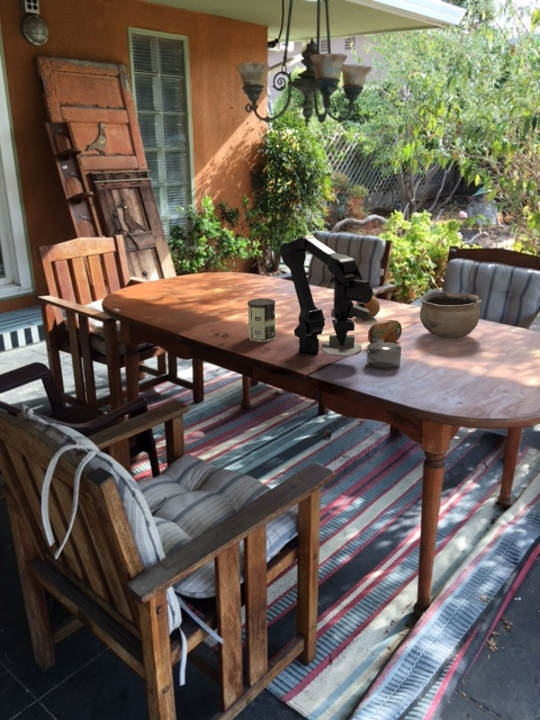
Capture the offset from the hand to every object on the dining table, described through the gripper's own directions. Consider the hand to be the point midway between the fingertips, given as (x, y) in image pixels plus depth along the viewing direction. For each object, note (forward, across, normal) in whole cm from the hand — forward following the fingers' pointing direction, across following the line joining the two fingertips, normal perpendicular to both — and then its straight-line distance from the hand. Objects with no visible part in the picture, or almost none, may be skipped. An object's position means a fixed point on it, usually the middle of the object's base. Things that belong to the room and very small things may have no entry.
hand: (341, 344), depth 198 cm
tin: (+7, +23, -17) cm, 29 cm away
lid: (+2, 0, 0) cm, 2 cm away
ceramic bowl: (+7, +32, -42) cm, 53 cm away
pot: (+7, +3, -14) cm, 16 cm away
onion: (+7, +58, -15) cm, 60 cm away
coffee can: (+7, +30, +28) cm, 41 cm away
